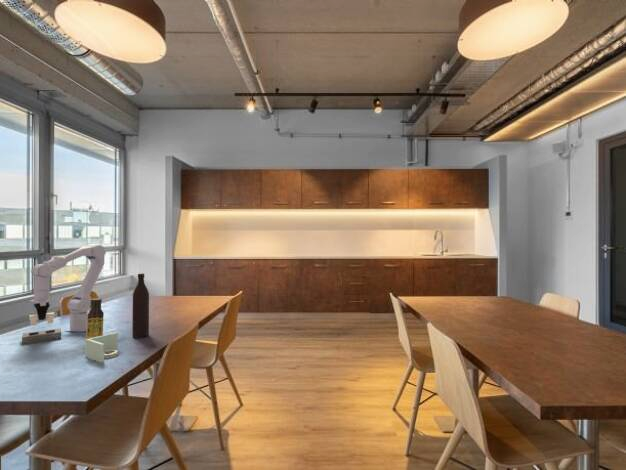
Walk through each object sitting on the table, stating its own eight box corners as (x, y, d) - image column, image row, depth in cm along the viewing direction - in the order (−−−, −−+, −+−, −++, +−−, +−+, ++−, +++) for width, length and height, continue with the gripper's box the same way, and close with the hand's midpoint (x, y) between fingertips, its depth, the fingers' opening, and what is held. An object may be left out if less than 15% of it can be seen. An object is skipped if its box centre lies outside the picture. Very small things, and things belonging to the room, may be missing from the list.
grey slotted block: (60, 334, 165) (60, 328, 165) (61, 338, 159) (61, 332, 159) (22, 339, 156) (22, 333, 156) (21, 344, 150) (21, 337, 150)
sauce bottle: (85, 346, 148) (85, 300, 148) (86, 342, 153) (87, 298, 153) (102, 344, 151) (103, 299, 151) (103, 340, 156) (104, 297, 156)
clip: (53, 321, 163) (53, 312, 163) (54, 322, 161) (54, 313, 161) (29, 324, 157) (29, 315, 157) (29, 326, 155) (29, 316, 155)
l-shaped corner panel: (101, 364, 129) (101, 344, 129) (85, 358, 135) (85, 339, 135) (132, 355, 139) (132, 336, 139) (116, 349, 146) (116, 332, 146)
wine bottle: (151, 336, 163) (151, 273, 164) (135, 339, 158) (136, 274, 158) (145, 333, 168) (145, 272, 168) (130, 336, 163) (130, 273, 163)
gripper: (30, 288, 162) (29, 317, 162) (31, 292, 151) (31, 323, 151) (48, 287, 166) (48, 315, 166) (51, 291, 156) (51, 320, 156)
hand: (41, 319), depth 159 cm, fingers closed on clip, 3 cm apart
